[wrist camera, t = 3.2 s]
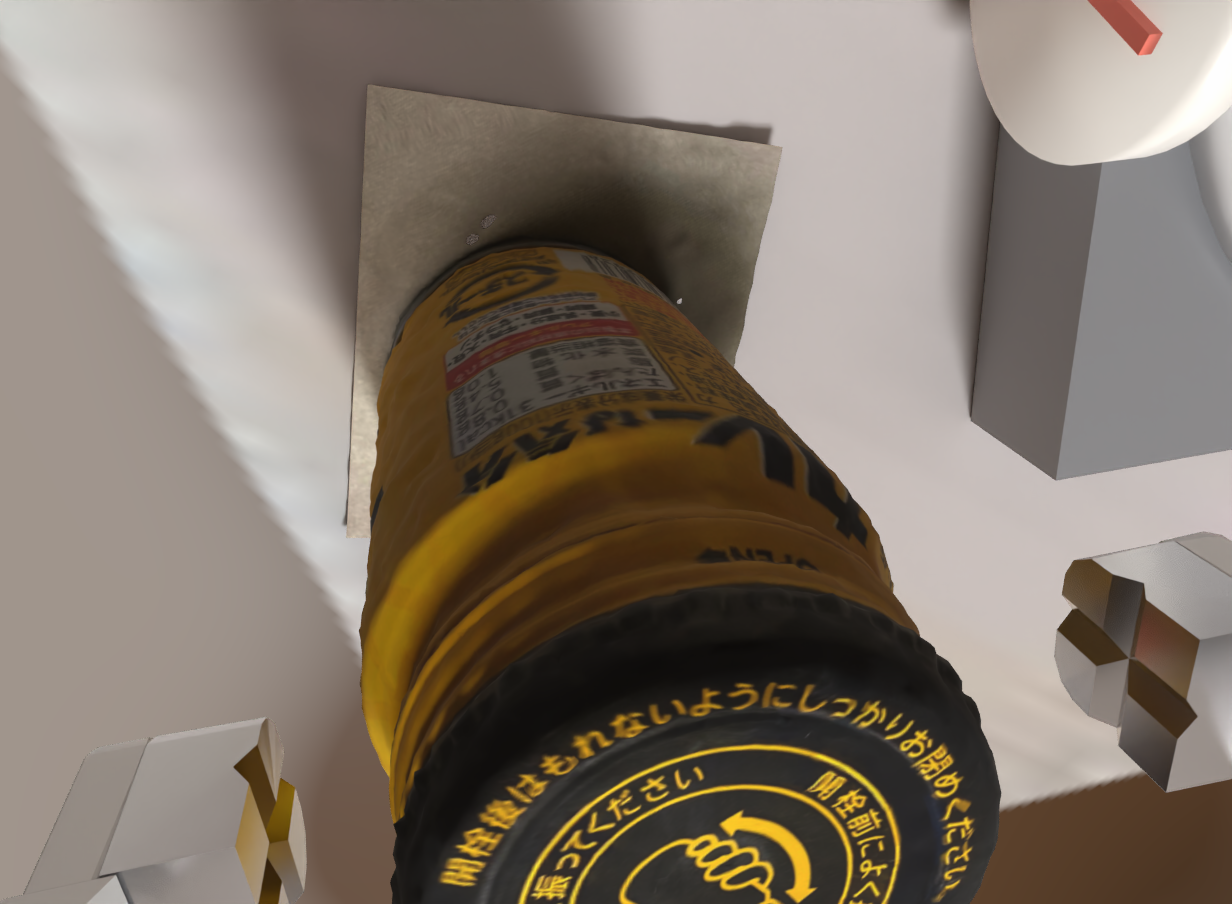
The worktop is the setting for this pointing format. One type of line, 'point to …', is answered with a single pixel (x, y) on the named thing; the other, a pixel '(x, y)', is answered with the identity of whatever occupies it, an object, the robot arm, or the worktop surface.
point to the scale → (1107, 231)
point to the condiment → (621, 546)
